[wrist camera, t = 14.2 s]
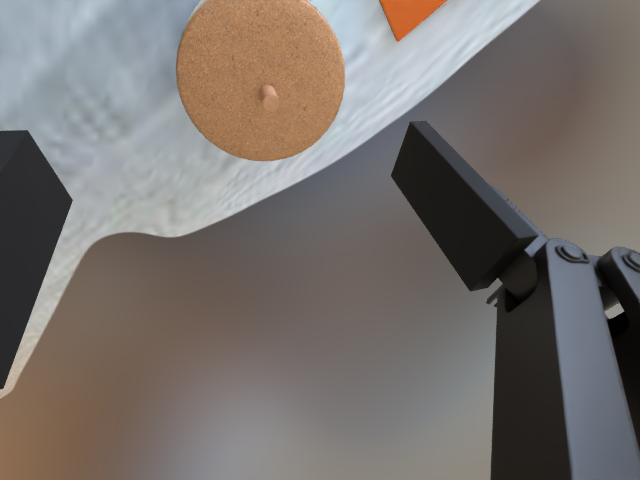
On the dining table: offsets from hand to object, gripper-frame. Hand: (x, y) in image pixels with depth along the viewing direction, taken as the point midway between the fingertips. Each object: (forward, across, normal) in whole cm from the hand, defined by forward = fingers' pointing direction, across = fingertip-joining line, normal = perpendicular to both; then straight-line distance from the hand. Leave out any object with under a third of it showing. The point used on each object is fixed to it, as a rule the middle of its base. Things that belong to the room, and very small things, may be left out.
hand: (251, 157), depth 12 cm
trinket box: (+18, +2, -2) cm, 18 cm away
